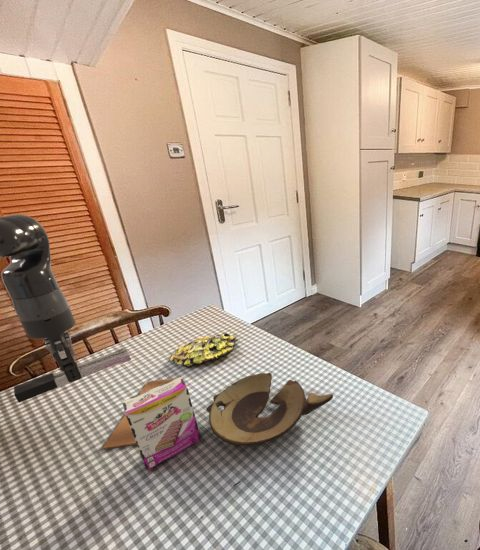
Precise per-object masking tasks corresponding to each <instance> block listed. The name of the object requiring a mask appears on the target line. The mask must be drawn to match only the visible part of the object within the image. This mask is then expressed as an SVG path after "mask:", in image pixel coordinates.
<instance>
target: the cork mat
mask: <svg viewBox="0 0 480 550" xmlns="http://www.w3.org/2000/svg"><path fill="white" fill-rule="evenodd" d="M177 378H178V377H177ZM177 378H169V379H159V380H152V381H147V382H146V383H145V385H144V386H143V387H142V389H141V391H140V392H139V394H141V393H144V392H146V391H149V390H151V389H153V388H156V387H158V386H161V385H163V384H165V383H168V382H170V381H172V380H175V379H177ZM135 445H137V444H136V441H135V439H134V436H133V433H132V430H131V428H130V425H129V422H128V420H127V417H126V414H125V413H124V415H123V417H122V418H121V420H120V421H119V423H118V424H117V426H116V427H115V429H114V430H113V432H112V433H111V435H110V436H109V437H108V439H107V440H106V442H105V443H104V445H103V447H102V450H107V449H108V450H109V449H115V448H121V447H129V446H135Z"/></svg>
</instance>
